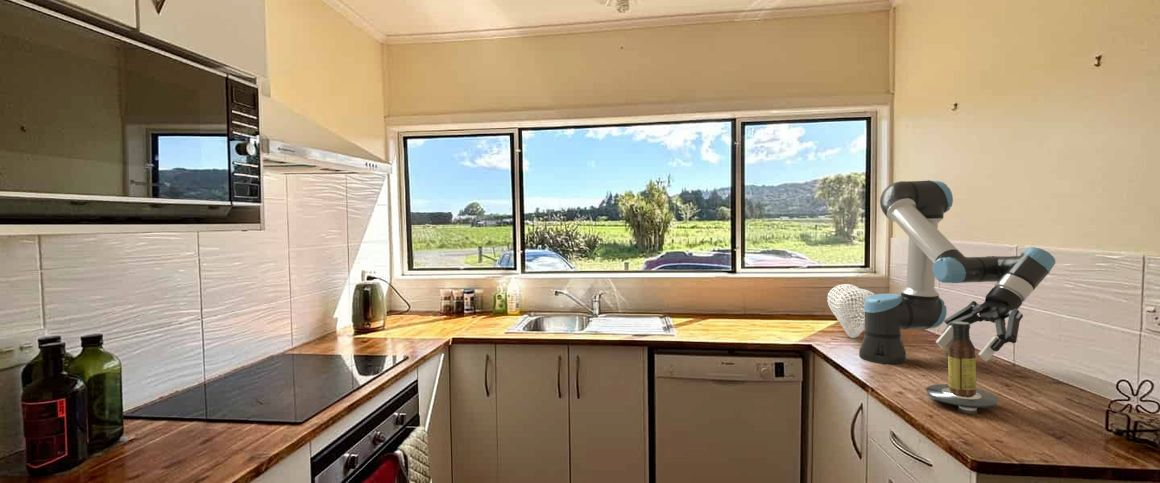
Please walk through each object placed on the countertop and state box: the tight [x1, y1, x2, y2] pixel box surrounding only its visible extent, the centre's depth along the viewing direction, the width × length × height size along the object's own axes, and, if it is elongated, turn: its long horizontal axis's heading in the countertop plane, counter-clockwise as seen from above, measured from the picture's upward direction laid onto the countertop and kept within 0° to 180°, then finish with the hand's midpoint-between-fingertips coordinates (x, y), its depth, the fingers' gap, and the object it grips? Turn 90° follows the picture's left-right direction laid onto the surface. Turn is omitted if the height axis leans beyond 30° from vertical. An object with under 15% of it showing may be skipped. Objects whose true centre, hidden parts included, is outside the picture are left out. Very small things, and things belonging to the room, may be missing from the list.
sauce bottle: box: [947, 321, 977, 396], centre depth 144 cm, size 6×6×20 cm
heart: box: [826, 283, 876, 339], centre depth 221 cm, size 28×16×22 cm, turn 172°
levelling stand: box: [926, 383, 999, 415], centre depth 144 cm, size 16×16×3 cm
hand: (959, 351), depth 143 cm, fingers open, 13 cm apart
